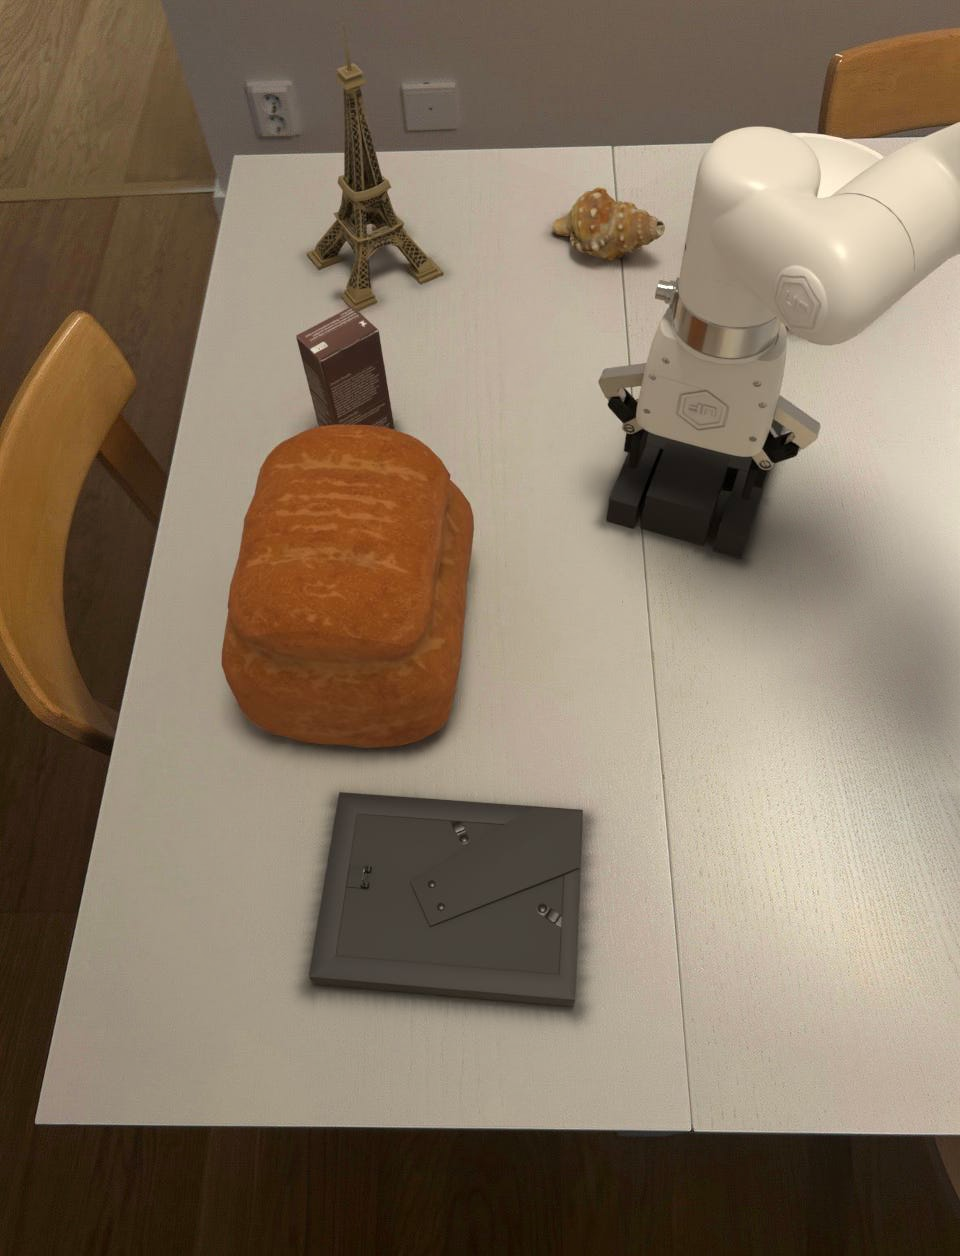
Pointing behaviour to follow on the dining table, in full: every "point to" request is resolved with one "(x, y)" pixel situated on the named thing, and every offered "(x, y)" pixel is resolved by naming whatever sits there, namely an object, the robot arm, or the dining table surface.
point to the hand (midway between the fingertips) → (692, 472)
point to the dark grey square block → (684, 493)
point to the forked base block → (738, 511)
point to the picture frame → (451, 899)
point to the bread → (350, 590)
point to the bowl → (838, 160)
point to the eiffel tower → (364, 204)
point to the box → (346, 371)
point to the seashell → (607, 226)
